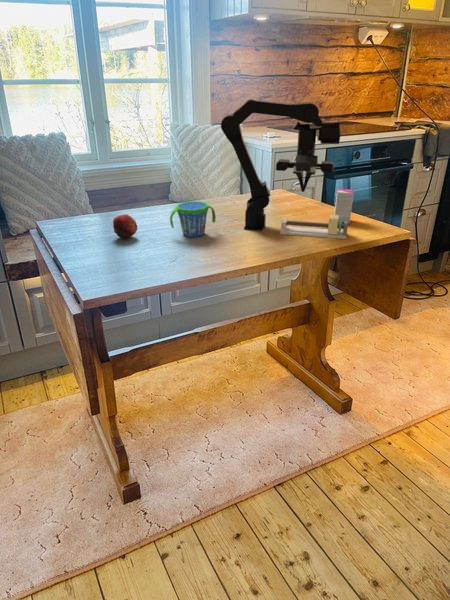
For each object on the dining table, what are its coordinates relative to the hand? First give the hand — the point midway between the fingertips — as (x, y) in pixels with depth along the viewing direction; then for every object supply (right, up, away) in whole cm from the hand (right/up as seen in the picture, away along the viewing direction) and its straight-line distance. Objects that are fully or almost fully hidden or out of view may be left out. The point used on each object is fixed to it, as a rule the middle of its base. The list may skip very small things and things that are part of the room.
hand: (303, 191), depth 159 cm
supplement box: (+16, -8, +12) cm, 22 cm away
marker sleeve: (+10, -14, -1) cm, 17 cm away
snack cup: (-38, -15, +1) cm, 40 cm away
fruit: (-60, -17, -2) cm, 62 cm away
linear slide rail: (+4, -14, +1) cm, 15 cm away
